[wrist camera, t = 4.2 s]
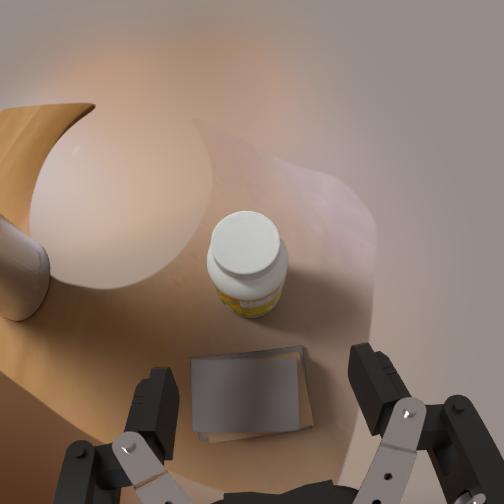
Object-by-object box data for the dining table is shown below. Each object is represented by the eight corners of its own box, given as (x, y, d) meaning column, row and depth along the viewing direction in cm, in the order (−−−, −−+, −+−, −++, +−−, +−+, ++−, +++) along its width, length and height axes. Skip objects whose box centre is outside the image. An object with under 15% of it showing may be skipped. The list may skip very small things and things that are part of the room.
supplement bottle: (288, 310, 26) (305, 274, 17) (226, 325, 25) (208, 297, 16) (272, 252, 28) (278, 192, 19) (213, 265, 27) (192, 211, 18)
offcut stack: (200, 438, 22) (190, 450, 18) (191, 358, 24) (178, 354, 20) (311, 426, 22) (321, 436, 18) (300, 345, 24) (308, 340, 21)
